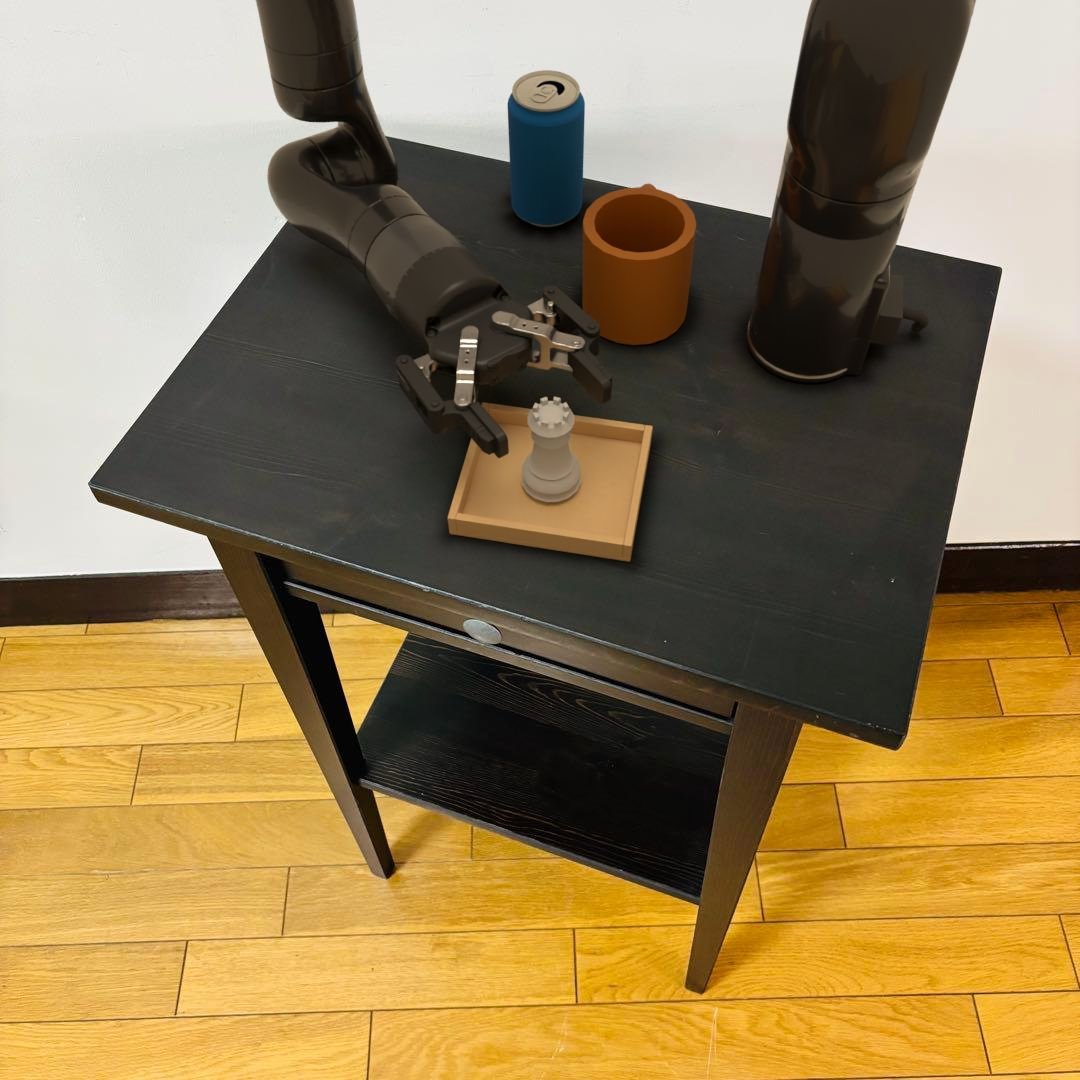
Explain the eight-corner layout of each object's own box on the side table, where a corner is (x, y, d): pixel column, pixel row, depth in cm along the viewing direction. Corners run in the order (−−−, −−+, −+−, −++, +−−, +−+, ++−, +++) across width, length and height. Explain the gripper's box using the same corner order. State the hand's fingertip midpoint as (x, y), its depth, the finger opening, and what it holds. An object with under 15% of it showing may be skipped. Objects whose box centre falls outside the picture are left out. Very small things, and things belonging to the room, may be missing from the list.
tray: (651, 442, 82) (653, 425, 80) (630, 562, 75) (631, 546, 74) (483, 419, 83) (482, 401, 82) (449, 534, 77) (447, 517, 75)
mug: (711, 266, 93) (724, 178, 86) (667, 358, 87) (677, 272, 79) (614, 241, 95) (619, 153, 88) (565, 329, 89) (565, 242, 81)
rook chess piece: (592, 474, 79) (595, 402, 73) (560, 515, 77) (561, 444, 71) (542, 450, 81) (541, 376, 74) (509, 489, 79) (505, 417, 72)
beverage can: (595, 202, 98) (599, 81, 88) (558, 241, 95) (558, 121, 85) (536, 179, 100) (534, 59, 90) (498, 216, 97) (491, 96, 87)
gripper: (343, 286, 75) (464, 430, 67) (512, 212, 80) (643, 339, 72) (359, 361, 81) (472, 501, 73) (515, 288, 86) (637, 413, 78)
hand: (556, 421), depth 73 cm, fingers open, 8 cm apart
